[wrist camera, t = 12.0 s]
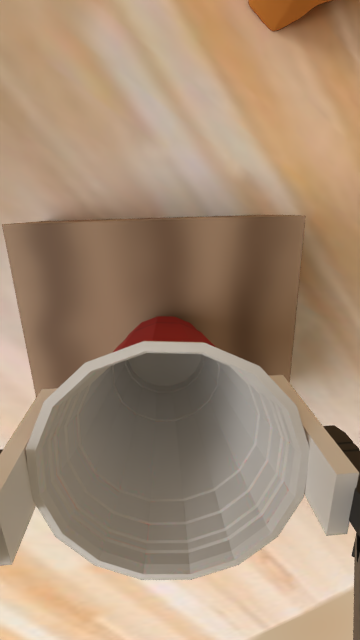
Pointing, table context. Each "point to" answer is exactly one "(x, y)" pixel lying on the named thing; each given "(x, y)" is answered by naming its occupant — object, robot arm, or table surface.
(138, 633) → the table surface
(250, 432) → the plastic cup
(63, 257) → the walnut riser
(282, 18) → the coffee package
